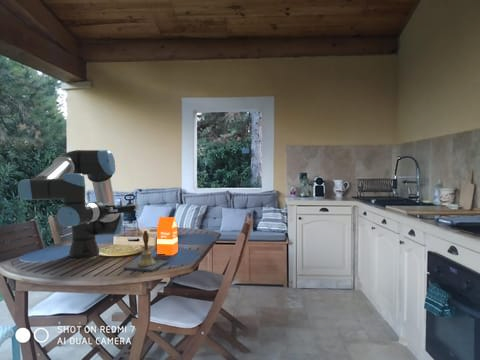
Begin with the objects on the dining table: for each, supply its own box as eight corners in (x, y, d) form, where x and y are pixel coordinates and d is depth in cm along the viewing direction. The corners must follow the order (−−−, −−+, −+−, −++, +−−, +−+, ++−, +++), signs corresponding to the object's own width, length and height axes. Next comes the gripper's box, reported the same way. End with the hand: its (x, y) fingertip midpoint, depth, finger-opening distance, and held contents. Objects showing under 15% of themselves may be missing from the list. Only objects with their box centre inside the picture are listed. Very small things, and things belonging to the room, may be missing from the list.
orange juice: (172, 255, 193) (171, 218, 192) (157, 254, 194) (156, 218, 193) (177, 251, 200) (177, 216, 199) (163, 251, 202) (162, 215, 201)
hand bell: (140, 267, 167) (139, 233, 166) (136, 263, 174) (135, 230, 174) (157, 264, 171) (157, 231, 170) (153, 260, 178) (152, 228, 178)
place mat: (123, 269, 168) (123, 267, 168) (141, 260, 182) (141, 258, 182) (152, 271, 163) (152, 269, 163) (168, 262, 178) (168, 260, 178)
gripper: (67, 220, 147) (101, 213, 167) (119, 222, 140) (148, 214, 160) (66, 202, 147) (100, 197, 167) (119, 203, 139) (148, 198, 160)
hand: (124, 205), depth 164 cm, fingers open, 13 cm apart
